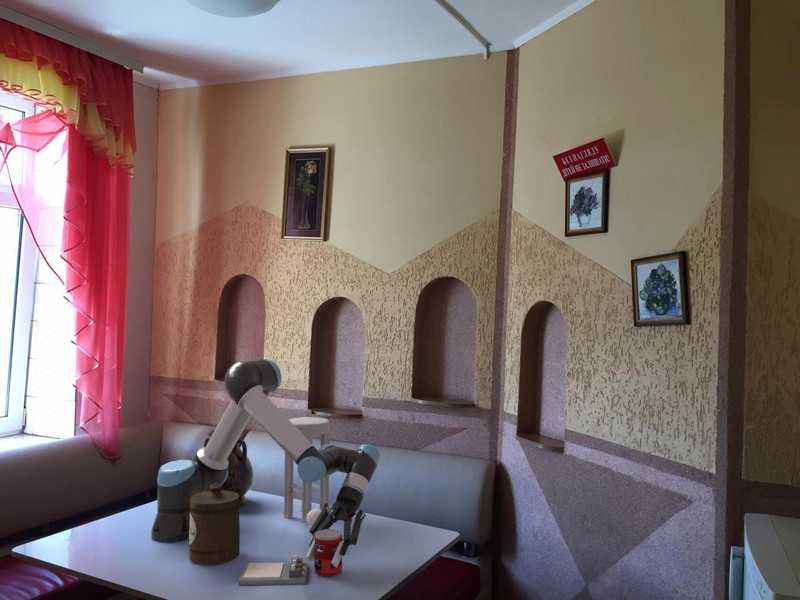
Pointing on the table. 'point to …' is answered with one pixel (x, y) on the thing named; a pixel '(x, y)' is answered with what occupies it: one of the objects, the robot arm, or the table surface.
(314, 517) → the lightbulb
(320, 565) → the canned food
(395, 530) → the table surface
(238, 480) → the amphora vase
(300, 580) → the breaker board
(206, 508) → the wooden container
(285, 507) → the stool
